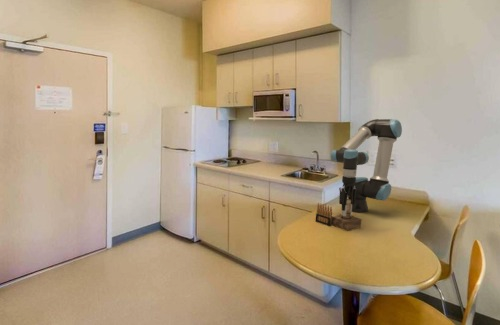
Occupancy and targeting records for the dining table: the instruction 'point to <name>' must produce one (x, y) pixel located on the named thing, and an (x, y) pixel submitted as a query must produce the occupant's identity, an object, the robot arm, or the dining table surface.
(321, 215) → the ammunition clip
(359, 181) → the robot arm
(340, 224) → the socket block
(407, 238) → the dining table surface
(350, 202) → the peg
